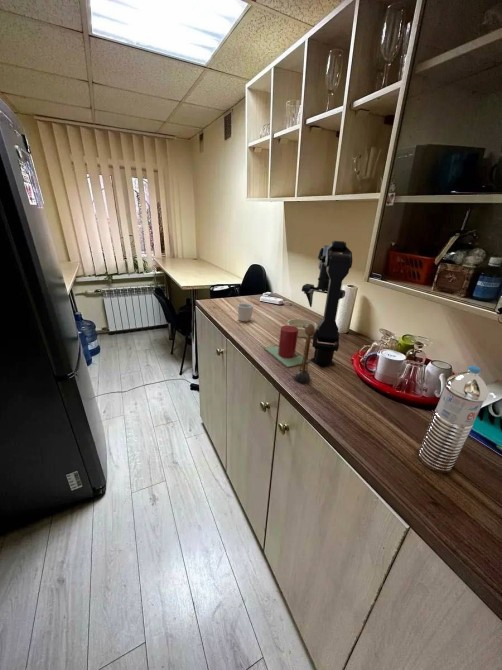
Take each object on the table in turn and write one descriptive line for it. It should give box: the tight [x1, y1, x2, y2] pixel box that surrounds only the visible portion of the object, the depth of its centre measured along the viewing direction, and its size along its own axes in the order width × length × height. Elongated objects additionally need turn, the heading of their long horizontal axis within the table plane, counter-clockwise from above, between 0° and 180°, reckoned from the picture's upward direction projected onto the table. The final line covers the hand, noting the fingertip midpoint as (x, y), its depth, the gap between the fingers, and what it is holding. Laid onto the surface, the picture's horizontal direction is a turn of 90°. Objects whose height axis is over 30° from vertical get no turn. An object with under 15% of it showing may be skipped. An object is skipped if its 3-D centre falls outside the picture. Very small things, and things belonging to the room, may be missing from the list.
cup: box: [237, 302, 254, 322], centre depth 141 cm, size 11×8×8 cm
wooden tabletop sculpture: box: [294, 324, 315, 384], centre depth 89 cm, size 6×5×20 cm
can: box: [278, 325, 298, 358], centre depth 105 cm, size 7×7×11 cm
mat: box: [264, 345, 310, 368], centre depth 107 cm, size 16×10×1 cm, turn 29°
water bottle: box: [417, 364, 489, 474], centre depth 58 cm, size 7×7×25 cm
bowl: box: [286, 318, 318, 338], centre depth 130 cm, size 14×14×4 cm
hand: (320, 308), depth 127 cm, fingers open, 9 cm apart
